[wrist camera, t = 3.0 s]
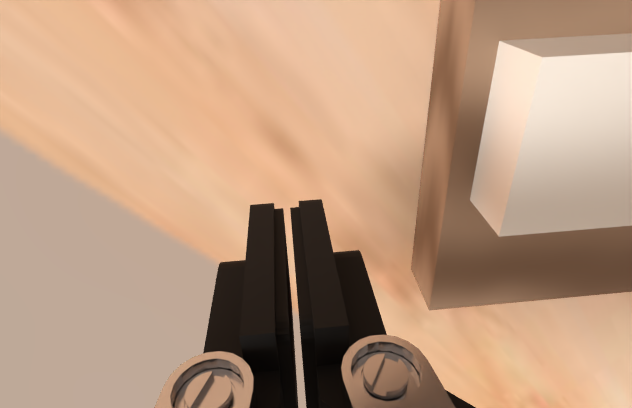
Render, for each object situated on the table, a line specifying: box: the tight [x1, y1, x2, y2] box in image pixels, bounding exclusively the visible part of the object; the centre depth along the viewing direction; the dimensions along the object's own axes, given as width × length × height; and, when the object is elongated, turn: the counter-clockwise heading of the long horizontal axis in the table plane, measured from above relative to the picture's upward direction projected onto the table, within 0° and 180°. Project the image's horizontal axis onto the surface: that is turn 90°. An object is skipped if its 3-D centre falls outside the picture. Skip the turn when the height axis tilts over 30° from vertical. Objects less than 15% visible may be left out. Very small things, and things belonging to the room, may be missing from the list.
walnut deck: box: [411, 0, 632, 310], centre depth 17 cm, size 18×14×3 cm
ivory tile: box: [470, 33, 632, 237], centre depth 14 cm, size 6×9×2 cm, turn 92°
